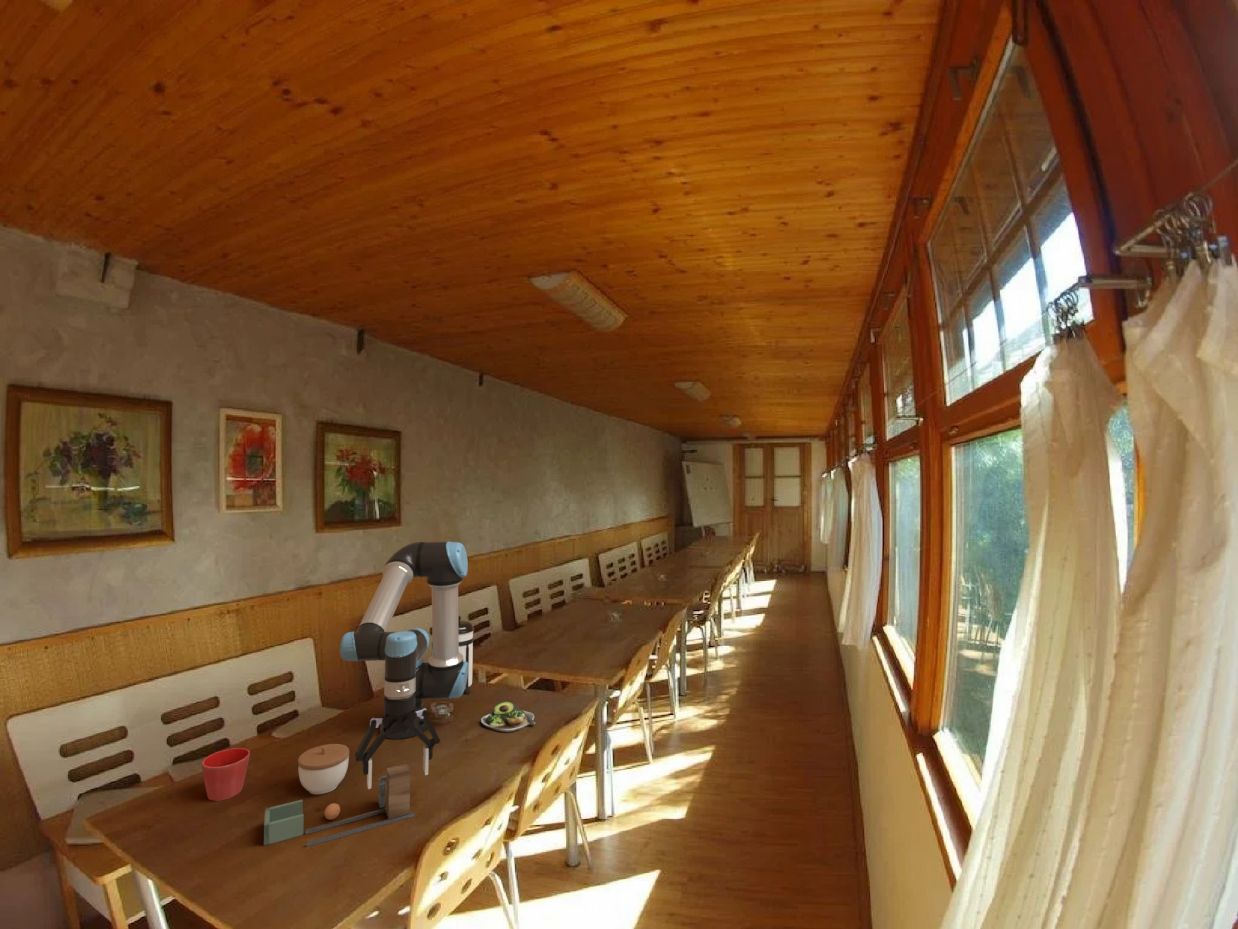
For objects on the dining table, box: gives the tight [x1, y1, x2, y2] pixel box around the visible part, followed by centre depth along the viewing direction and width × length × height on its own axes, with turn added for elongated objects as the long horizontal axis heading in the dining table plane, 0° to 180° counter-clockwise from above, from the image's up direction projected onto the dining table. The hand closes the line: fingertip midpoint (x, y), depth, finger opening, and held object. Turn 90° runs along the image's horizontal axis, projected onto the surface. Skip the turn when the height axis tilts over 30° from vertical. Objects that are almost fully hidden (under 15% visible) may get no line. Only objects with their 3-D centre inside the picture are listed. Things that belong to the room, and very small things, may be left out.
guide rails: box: [305, 807, 415, 848], centre depth 140 cm, size 6×24×1 cm, turn 121°
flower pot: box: [201, 747, 251, 802], centre depth 153 cm, size 11×11×10 cm
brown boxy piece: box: [377, 763, 411, 819], centre depth 146 cm, size 10×6×11 cm, turn 31°
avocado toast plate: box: [480, 701, 536, 733], centre depth 199 cm, size 19×18×5 cm
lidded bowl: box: [297, 743, 350, 795], centre depth 156 cm, size 13×13×11 cm
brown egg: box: [324, 802, 341, 821], centre depth 142 cm, size 4×4×4 cm
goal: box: [263, 799, 305, 847], centre depth 137 cm, size 8×8×4 cm
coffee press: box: [458, 615, 475, 695], centre depth 228 cm, size 17×16×30 cm
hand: (397, 779), depth 144 cm, fingers open, 13 cm apart
